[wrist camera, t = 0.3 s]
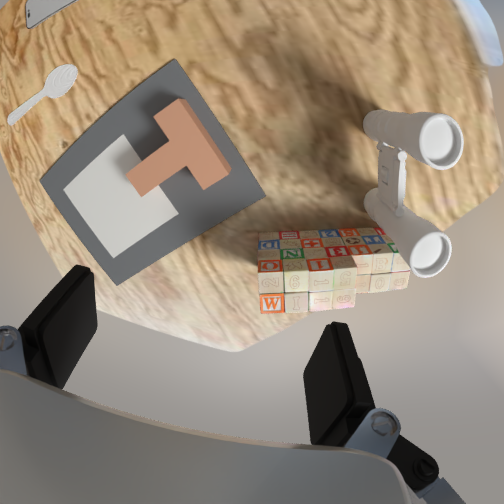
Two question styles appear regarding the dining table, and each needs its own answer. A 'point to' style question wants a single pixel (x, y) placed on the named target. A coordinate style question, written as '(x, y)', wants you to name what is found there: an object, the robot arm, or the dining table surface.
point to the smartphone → (43, 10)
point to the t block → (180, 151)
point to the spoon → (48, 89)
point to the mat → (125, 195)
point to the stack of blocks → (326, 268)
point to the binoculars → (394, 178)
